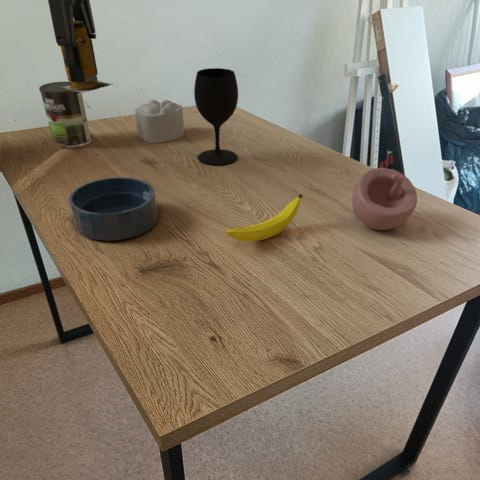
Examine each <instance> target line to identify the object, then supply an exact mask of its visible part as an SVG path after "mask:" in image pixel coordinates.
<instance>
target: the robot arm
mask: <svg viewBox="0 0 480 480" xmlns="http://www.w3.org/2000/svg"><path fill="white" fill-rule="evenodd" d="M47 1H48V2H47V3H48V7H49V12H50V18H51V23H52V28H53V33H54V37H55V42H56V44H57V46H59V47H61V46H64V50H65V54H66V59H67V64H68V68H69V73H70V78H71V82H79V83H84V82H85V78H84V73H83V67H82V62H81V57H80V52H79V47H78V46H75V32H74V20H79V21H83V22H84V23H85V28H86V31H87V36H88V37H89V38H90V42H91V48H92V53H93V58H94V64H95V69H96V75H99V72H98V67H97V66H98V65H97V62H96V55H95V50H94V45H93V40H96V39H97V34H96V28H95V22H94V17H93V12H92V7H91V1H90V0H47Z"/></svg>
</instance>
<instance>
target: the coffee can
mask: <svg viewBox="0 0 480 480" xmlns="http://www.w3.org/2000/svg"><path fill="white" fill-rule="evenodd" d="M65 86H69V82H68V81H54V82H47V83H45V84H44V83H43V84H42V85H40V86H39V88H38V90H39V93H40V95H41V100H42V103H43V107H44V111H45V114H46V119H47V123H48V126H49V130H50V134H51V139H52V141H53V142H54V143H57V144H61V145H62V144H63V146H61V149H77V148H81V147H84V146H88V145H89V144H90V143H92V138H91V132H90V128H89V127H90V126H89V123H88V118H87V113H86V108H85V107H86V106H85V103H84V97H83V93H81V92H78V91H73V90H69V89H66V88H64V87H65Z"/></svg>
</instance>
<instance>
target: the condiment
mask: <svg viewBox="0 0 480 480" xmlns="http://www.w3.org/2000/svg"><path fill="white" fill-rule="evenodd" d="M74 32H75V46H78V47H79V52H80V57H81V62H82V67H83V73H84V78H85V82H84V83H79V82H71V78H70V73H69V68H68V64H67V59H66V54H65V50H64V46H60V51H61V54H62V59H63V63H64V68H65V72H66V77H67V80H68V81H67V82H69V86H65V87H64V88H66V89H69V90H73V91H78V92H81V93H82V94H83V93H86V92H92V91H95V90H100V89H101V88H106V87H109V86H112V85H113V86H114V83H108V82H104V81H101V80H98V76H97V75H98V74H97V75H96V69H95V64H94V58H93V53H92V48H91V42H90V38H89V37H88V36H87V31H86V28H85V23H84V22H83V21H79V20H74Z"/></svg>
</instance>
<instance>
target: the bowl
mask: <svg viewBox="0 0 480 480" xmlns="http://www.w3.org/2000/svg"><path fill="white" fill-rule="evenodd" d="M68 203H69V207H70V211H71V215H72V219H73V222H74V223H73V224H74V226H75V228H76V231H77V232H78V233H80V234H81V235H82V236H83V237H85V238H86V237H87V238H88V239H93V240H97V241H106V242H107V241H108V242H110V241H122V240H127V239H130V238H131V239H132V238H135V237H138V236H140V235H142V234H144V233H147V232H148V231H149V230H151V229H152V228H154V227H155V225H156V223H157V222H158V220H159V216H158V215H159V214H158V205H157V198H156V190H155V188H154V187H153V186H152V184H150V183H149V182H147V181H145V180H142V179H140V178H135V177H125V176H118V177H117V176H116V177H105V178H99V179H95V180H92V181H89V182H86V183H83V184H82V185H80V186H78V187H76V188H75V189H74V190H73V191H72V192H70V195H69V198H68Z"/></svg>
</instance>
